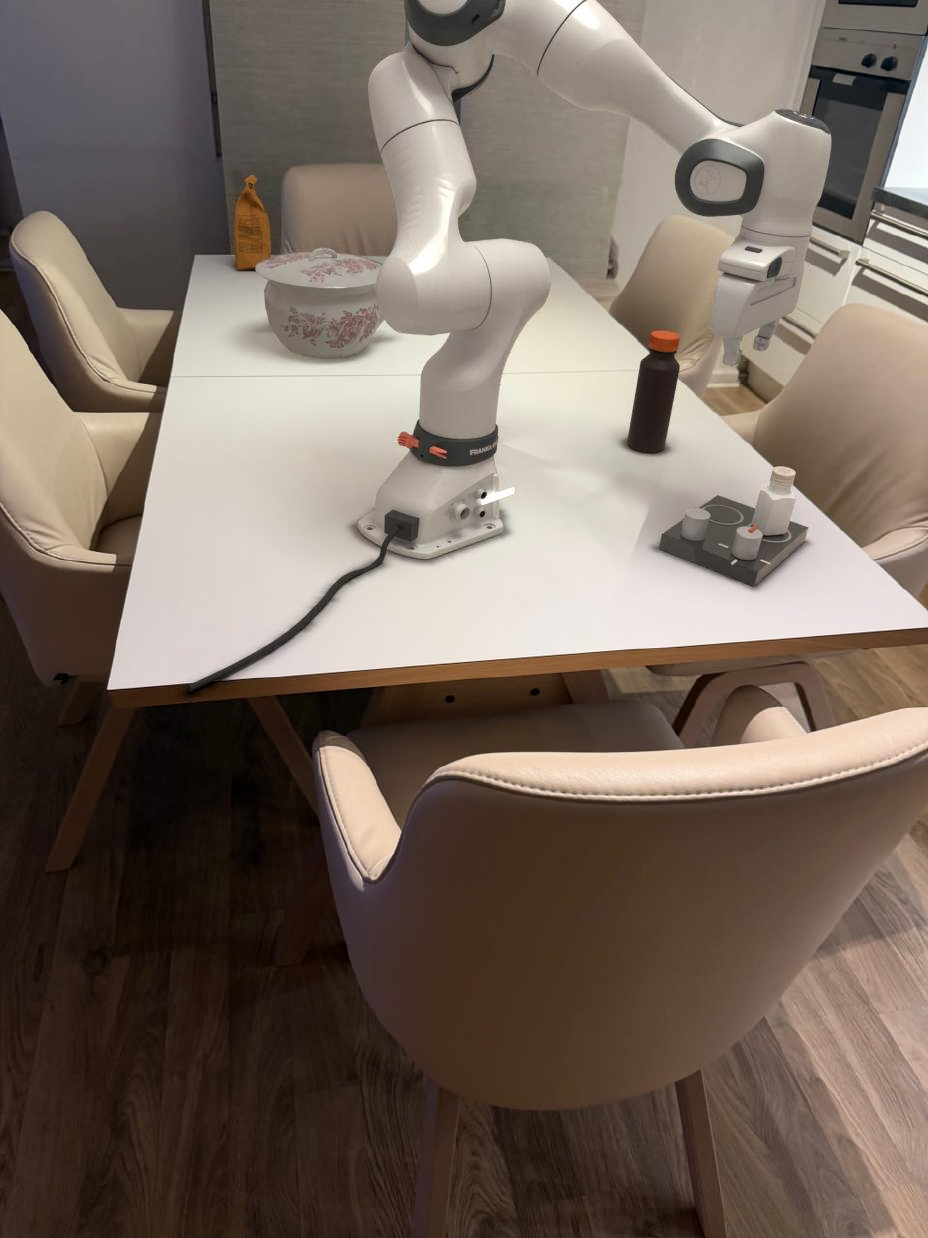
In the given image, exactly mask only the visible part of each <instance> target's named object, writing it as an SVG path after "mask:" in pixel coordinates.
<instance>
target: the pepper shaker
mask: <svg viewBox="0 0 928 1238" xmlns="http://www.w3.org/2000/svg"><path fill="white" fill-rule="evenodd" d="M796 475H797V472H796V471H795V469H793V468H790V467H788V466H783V465H782V466H780V465H779V466H778V465H777V466H774V467H773V468H772V470H771V475H770V478H769V485H767V486H764V487H762V488H760V490H759V493H758V497H757V501H756V505H755V507H754V508H755V512H754V516H753V520H752V524H753V526H756V527H757V529H758V530H760V531H761V532H762V534H763V535H766V536H768V535H779V534H785V533H786V532H787V529H788V526H789V522H790V521H791V518H792V514H793V511H794V507H795V504H796V500H797V498H796V495H795V494H794V493H793V491H792V487H793V486H794V481H795V478H796Z"/></svg>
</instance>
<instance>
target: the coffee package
mask: <svg viewBox="0 0 928 1238" xmlns="http://www.w3.org/2000/svg"><path fill="white" fill-rule="evenodd" d="M243 180H244V183H245V187H244V189H243V190H242V191H241V194H240V195H239V197H238V199H237V202H236V205H235V213H234V220H233V221H234V222H233V248H234V250H233V251H234V262H235V266H236V269H237V270H238V271H245V270H256V268H255V266H256V265H257V264H258V263H259V262H260V261H262V260H263V259H266V258H269V257H272V237H271V225H270V219H269V216H268V213H267V210H266V208H265V206H264V204H263V202H262V201H261V200H260V198H259V196H258V195H257V193H256V190H255V184H256V183H257V182H258V178H257V177H256V176H255V174H250V175H249V176H248V177H246V178H245V179H243Z"/></svg>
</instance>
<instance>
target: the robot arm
mask: <svg viewBox="0 0 928 1238" xmlns="http://www.w3.org/2000/svg"><path fill="white" fill-rule="evenodd" d="M403 9H404V13H405V18H406V21H407V28H408V33H409V35H408V36H409V37H408V39H409V40H408V41H407V43H406V45H405V46H404V47H403V49H401V50H400V51H399V52H395V53H392V54H389V55H388V56H386V57H385V58H383V59H382V60H380V62H378V64H377V65H375V66H374V68H373V69H372V71H371V73H370V75H369V78H368V82H367V95H368V96H367V97H368V105H369V112H370V118H371V123H372V128H373V132H374V136H375V141H376V145H377V149H378V152H379V155H380V159H381V162H382V164H383V168H384V171H385V174H386V178H387V181H388V186H389V189H390V192H391V196H392V200H393V204H394V209H395V214H396V215H395V216H396V233H395V239H394V243H393V247H392V249H391V251H390V253H389V255H388V257H387V258H385V260H384V261H383V262H382V264H383V265H382V266H381V268H380V271H379V273H378V276H377V280H376V289H375V291H376V301H377V305H378V308H379V310H380V313H381V315H382V317H383V318H384V322H385V323H386V324H387V325H388V326H389V327H390V328H391V329H392V330H393V331H395V332H396V333H399V334H405V335H413V336H414V335H415V336H429V337H431V336H437V335H445V334H448V336H447V338H446V340H445V341H444V343H443V344H442V346H441V347H440V348H439V349H438V350H437V351H436V352H435V353H434V354H432V355H431V356H430V358H429V359H427V361H426V362H425V364H424V365H423V368H422V370H421V374H420V384H419V385H420V386H419V387H420V388H419V412H418V419H417V421H415V422H416V423H415V426H414V428H413V432H412V434H410V433H408V432H406V431H401V432H400V433H398V435H399V436H397V440H396V441H397V444H398V445H399V446H401V447H406V449H408V452H407V453H406V455H405V456H404V457H403V458H402V460H400V462H399V463H398V464H397V465H396V467H395V468H394V469H393V471H392V472H391V473H390V474H389V475H388V476H387V478H386V479H385V481H383V483H382V484H381V485H380V486H379V488H378V490H377V492H376V497H375V504H374V509H373V510H371V511H370V512H368V513H367V514H366V515H364V516H363V517H361V518H360V519H359V520H358V521H357V529H358V531H359V532H360V534H361V535H363V536H364V537H365V538H366V539H367V540H368V541H370V542H372V543H374V544H375V545H378V546H380V551H379V555H378V557H377V558H376V559H375V560H374V561H373V562H372V563H370V565H367V566H365V567H363V568H359V569H356V570H352V571H349V572H347V573H346V574H344V575H342V576H341V577H339V578H338V579H337V580H336V581H335V582H334V583H333V584H332V585H331V586H330V588H329V589H328V590H327V591H326V593H325V594H324V596H323V597H322V598H321V599H320V600H319V601H318V602H317V603H316V604H315V605H314V607H312V609H311V610H309V611H308V613H306V615H304V616H303V617H302V618H301V619H300V620H299V621H298V622H297V623H295V624H294V625H293V626H292V627H290V628H289V629H288V630H287V631H286V632H284V633H283V634H282V635H280V636H279V637H277V638H275V639H274V640H272V641H271V642H270V643H268V644H266V645H265V646H263V647H261V648H259V649H258V650H256V651H254V652H252V653H251V654H249V655H246V656H245V657H244V658H242V659H240V660H238V661H235V662H234V663H232V664H230V665H228V666H226V667H224V668H222V669H219V670H217V671H215V672H213V673H211V674H209V675H207V676H205V677H202V678H200V679H198V680H197V681H194V682H192V683H190V684H188V685H187V689H188V691H189V692H194V691H196V690H198V689H200V688H203V687H204V686H206V685H208V684H211V683H213V682H215V681H216V680H219V679H221V678H223V677H225V676H227V675H229V674H231V673H233V672H235V671H238V670H239V669H241V668H243V667H245V666H246V665H248V664H250V663H252V662H254V661H256V660H257V659H259V658H261V657H263V656H264V655H266V654H268V653H270V652H272V651H273V650H274V649H276V648H277V647H279V646H280V645H282V644H283V643H285V642H286V641H288V640H289V639H291V637H293V636H294V635H296V633H298V632H299V631H301V629H302V628H304V627H305V626H306V625H307V624H308V623H309V622H310V621H311V620H312V619H313V618H314V617H315V616H316V615H317V614H318V613H319V612H320V611H321V610H322V609H323V608H324V607H325V605H326V604H327V603H328V602H329V601H330V599H331V598H332V597H333V595H334V594H335V593H336V592H337V590H338V589H339V588H341V586H342V585H343V584H345V583H346V582H347V581H349V580H351V579H352V578H355V577H359V576H362V575H364V574H366V573H369V572H370V571H372V570H374V569H376V568H378V567H379V566H380V565H381V564H382V563H383V562H384V560H385V558H386V555H387V550H388V551H390V552H393V553H396V554H398V555H402V556H406V557H408V558H412V559H413V558H415V559H419V560H431V559H434V558H436V557H439V556H442V555H446V554H447V553H450V552H453V551H457V550H459V549H461V548H465V547H468V546H470V545H473V544H476V543H479V542H481V541H484V540H486V539H489V538H492V537H495V536H497V535H501V534H503V533H504V523H503V521H502V519H501V518H500V499H502V498H505V497H507V496H511V495H513V494H514V493H515V488H514V487H510V488H508V489H505V490H502V491H500V479H499V474H498V470H497V466H496V460H495V455H496V453H497V451H498V443H499V439H500V438H499V425H498V424H497V416H498V406H499V397H500V390H501V383H502V378H503V373H504V369H505V367H506V364H507V361H508V359H509V356H510V354H511V352H512V350H513V348H514V345H515V344H516V341H517V339H518V338H519V336H520V334H521V333H522V331H523V330H524V328H525V327H526V325H527V324H528V323H529V322H530V320H531V319H532V318H533V317H534V316H535V315H536V314H537V313H538V312H539V311H541V310H542V308H543V307H544V305H546V302H547V301H548V298H549V294H550V291H551V285H552V284H551V283H552V278H551V270H550V265H549V263H548V260H547V258H546V256H545V255H544V253H543V252H542V250H541V249H540V248H539V247H538V246H537V245H536V244H534V243H531V242H527V241H521V240H517V239H510V238H501V237H500V238H492V239H481V240H473V241H464V240H463V238H462V236H461V234H460V229H459V217H460V216H461V215H463V214H464V212H465V211H467V210H468V208H469V207H470V206H471V204H472V203H473V200H474V199H475V198H474V197H475V194H476V191H477V177H476V174H475V171H474V167H473V164H472V161H471V158H470V154H469V151H468V147H467V145H466V141H465V138H464V135H463V132H462V129H461V125H460V123H459V119H458V117H457V113H456V109H455V107H454V105H455V104H456V103H458V102H459V101H460V100H461V99H464V98H466V97H468V96H469V95H472V94H473V93H475V92H477V90H479V89H480V88H481V87H482V86H483V85H484V84H485V82H486V81H487V80H488V78H489V76H490V74H491V72H492V69H493V65H494V62H495V56H496V55H499V56H505V57H508V58H511V59H513V60H515V61H516V62H518V63H521V64H522V65H524V67H525V68H526V69H527V70H528V71H529V72H530V73H531V74H533V75H534V77H535V78H536V79H538V80H539V81H540V82H541V83H542V84H543V85H545V87H547V88H548V89H549V90H550V91H551V92H553V93H554V94H556V95H557V96H559V97H560V98H561V99H564V100H565V101H567V102H568V103H570V104H572V105H574V106H576V107H578V108H580V109H583V110H586V111H596V112H604V113H612V114H616V115H619V116H620V115H621V116H623V117H627V118H630V119H631V120H635V121H637V122H638V123H640V124H642V125H643V126H645V127H646V128H648V129H649V130H650V131H651V132H653V134H655V135H656V136H657V137H658V138H660V139H661V140H662V141H663V142H665V143H666V144H667V145H668V146H670V147H671V148H672V149H673V150H675V151H676V152H677V153H678V154H679V155H681V156H680V158H679V160H678V163H677V165H676V168H675V172H674V188H675V192H676V195H677V198H678V200H679V201H680V203H681V204H682V206H683V207H684V208H685V209H686V210H688V211H689V212H690V213H692V214H694V215H697V216H701V217H704V218H719V217H732V216H740V217H741V218H742V219H741V225H740V228H739V234H738V235H737V236H736V237H735V239H734V240H733V242H732V243H731V244H730V246H728V247H727V248H726V249H725V250H724V251H723V252H722V253H721V254H720V257H719V260H718V264H717V271H719V272H720V273H721V272H722V273H721V275H719V278H718V280H717V283H716V286H715V290H714V297H713V301H712V308H711V315H710V321H709V326H710V332H711V334H712V335H715V336H719V337H721V338H722V344H723V350H724V351H723V357H722V364H723V365H725V366H728V367H734V366H736V365H738V364H739V363H740V359H741V357H742V351H740V345H741V342H742V341H743V337H744V335H747V334H749V333H751V332H754V331H756V330H758V329H759V330H758V332H757V334H756V335H755V336H754V340H753V344H752V348H753V350H755V351H759V352H764V351H766V350H768V349H769V346H770V343H771V339H772V337H773V335H774V333H775V332H776V330H777V327H778V326H779V323H780V319H782V318H784V317H786V316H788V315H790V314H792V313H793V312H794V310H795V308H796V306H797V304H798V301H799V297H800V292H801V287H802V282H803V277H804V270H805V259H806V256H807V252H808V248H809V245H810V240H811V237H812V233H813V217H814V212H815V211H816V207H817V205H818V203H819V202H820V200H821V197H822V195H823V191H824V187H825V182H826V178H827V174H828V169H829V165H830V160H831V159H830V158H831V151H832V134H831V131H830V129H829V127H828V126H827V124H826V123H825V122H824V121H822V120H821V119H819V118H817V117H815V116H813V115H810V114H808V113H804V112H801V111H798V110H793V109H787V108H779V109H775V110H773V111H772V112H770V113H769V114H768V115H766V116H764V117H761V118H760V119H758V120H756V121H753V122H750V123H748V124H743V123H739V122H735V121H730V120H727V119H725V118H722V117H721V116H719V115H717V114H716V113H714V112H713V111H712V110H711V109H709V108H708V107H707V106H706V105H705V104H704V103H702V102H700V101H699V99H697V98H696V97H695V96H693V95H692V94H691V93H690V92H688V91H687V90H686V89H685V88H683V86H681V85H680V84H679V83H677V82H676V81H675V80H674V79H673V78H672V77H670V76H669V75H668V74H667V73H666V72H665V71H663V70H662V69H661V68H660V67H659V66H658V65H657V64H656V63H655V61H654V60H653V59H652V58H651V57H650V56H649V54H648V53H646V52H645V51H644V49H643V48H641V46H640V45H639V44H638V43H637V42H636V41H635V40H634V38H632V36H631V35H630V34H629V33H628V32H627V30H626V29H625V28H624V27H623V26H622V25H621V24H620V23H619V21H617V20H616V18H614V16H613V15H612V14H611V13H610V12H608V10H607V9H606V8H605V7H604V6H603V5H602V4H600V3H599V2H598V1H597V0H403Z"/></svg>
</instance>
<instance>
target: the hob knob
mask: <svg viewBox="0 0 928 1238" xmlns="http://www.w3.org/2000/svg"><path fill="white" fill-rule="evenodd" d="M762 537H763V534H762V532H761V531H760V530H758V529H757V527H756V526H753V527H747V526H743V527H739V528H738V529H737V530H736V534H735V538H734V542H733V546H732V550H731V553H732V555H733V556H735V557H736V558H739V559H742V560H754V559H756V558H757V555H758V552H759V548H760V544H761V540H762Z"/></svg>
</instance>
